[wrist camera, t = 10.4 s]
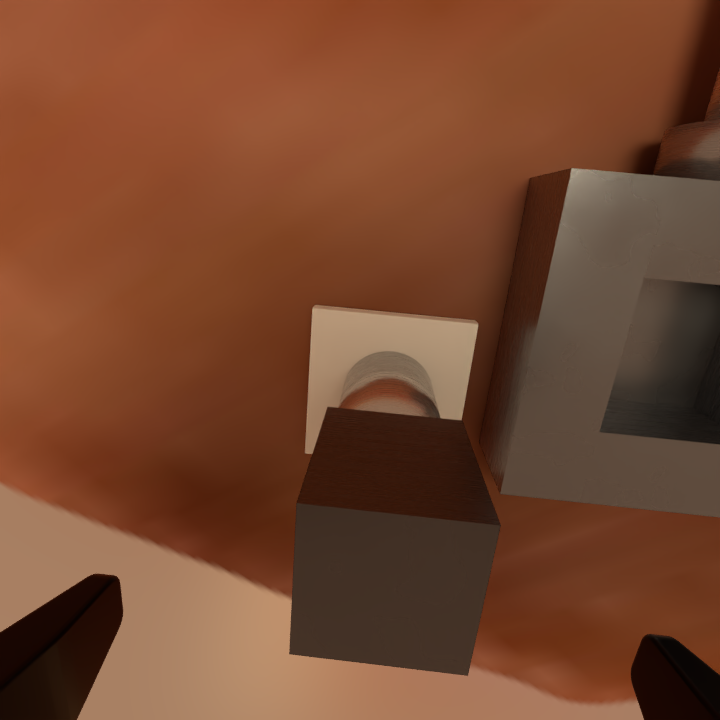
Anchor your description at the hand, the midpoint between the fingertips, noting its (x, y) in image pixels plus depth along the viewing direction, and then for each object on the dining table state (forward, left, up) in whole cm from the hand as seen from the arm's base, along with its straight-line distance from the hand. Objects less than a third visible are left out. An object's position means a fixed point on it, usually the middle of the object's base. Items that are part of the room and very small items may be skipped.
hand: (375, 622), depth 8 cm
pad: (0, 0, -11) cm, 11 cm away
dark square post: (0, 0, -10) cm, 10 cm away
